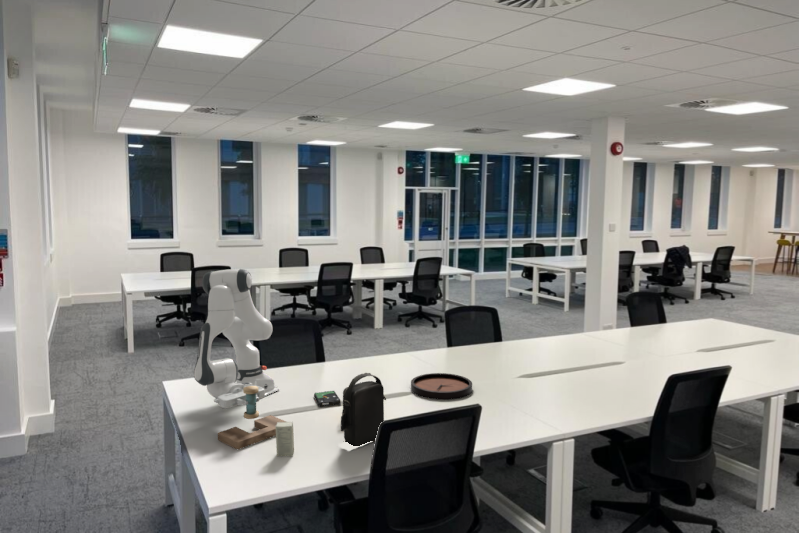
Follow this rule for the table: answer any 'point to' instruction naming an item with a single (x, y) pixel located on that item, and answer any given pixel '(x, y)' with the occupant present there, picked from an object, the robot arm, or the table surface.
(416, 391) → the wall clock
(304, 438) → the table surface
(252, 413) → the bobbin
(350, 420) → the shoulder bag
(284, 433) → the skincare box
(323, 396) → the disk drive
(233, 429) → the notched board
